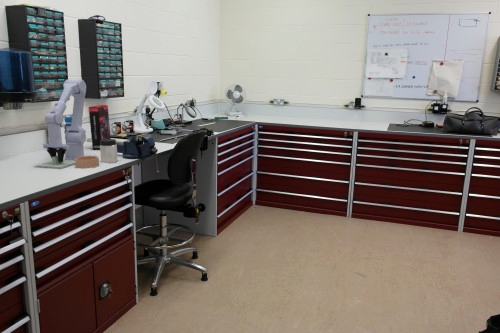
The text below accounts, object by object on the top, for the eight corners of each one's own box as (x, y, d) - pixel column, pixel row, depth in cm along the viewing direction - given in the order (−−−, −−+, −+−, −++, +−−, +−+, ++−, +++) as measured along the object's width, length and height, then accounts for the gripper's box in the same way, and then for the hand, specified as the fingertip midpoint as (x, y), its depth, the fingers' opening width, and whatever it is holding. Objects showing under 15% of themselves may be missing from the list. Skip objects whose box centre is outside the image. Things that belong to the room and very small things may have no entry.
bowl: (71, 168, 212) (70, 159, 211) (84, 163, 223) (83, 155, 222) (90, 169, 210) (89, 160, 209) (102, 164, 220) (102, 156, 219)
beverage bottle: (75, 146, 273) (72, 116, 269) (82, 147, 268) (80, 116, 264) (63, 148, 266) (60, 117, 262) (70, 149, 262) (67, 118, 257)
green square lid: (37, 166, 213) (36, 157, 212) (55, 161, 226) (54, 152, 225) (60, 168, 210) (59, 159, 209) (78, 162, 223) (77, 154, 222)
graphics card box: (102, 150, 261) (99, 106, 255) (91, 150, 261) (87, 106, 255) (111, 145, 277) (108, 104, 271) (101, 145, 278) (98, 104, 271)
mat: (32, 168, 212) (32, 167, 212) (55, 161, 228) (55, 160, 228) (61, 170, 208) (61, 169, 208) (82, 163, 224) (82, 162, 224)
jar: (103, 163, 223) (101, 141, 220) (99, 161, 229) (97, 139, 227) (119, 162, 228) (118, 140, 225) (115, 159, 234) (114, 138, 232)
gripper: (37, 136, 212) (40, 162, 215) (62, 138, 209) (64, 164, 212) (47, 134, 219) (50, 160, 222) (71, 136, 216) (73, 161, 219)
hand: (57, 161), depth 218 cm, fingers open, 3 cm apart
